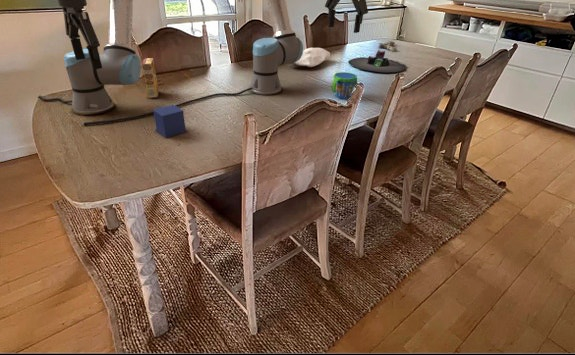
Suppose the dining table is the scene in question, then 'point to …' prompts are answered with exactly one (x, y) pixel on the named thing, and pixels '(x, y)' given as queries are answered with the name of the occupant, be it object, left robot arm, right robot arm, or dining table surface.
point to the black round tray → (377, 63)
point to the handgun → (388, 45)
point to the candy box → (150, 77)
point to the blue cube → (169, 120)
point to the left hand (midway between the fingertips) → (88, 63)
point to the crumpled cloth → (312, 57)
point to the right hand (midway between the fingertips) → (343, 29)
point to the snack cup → (343, 84)
